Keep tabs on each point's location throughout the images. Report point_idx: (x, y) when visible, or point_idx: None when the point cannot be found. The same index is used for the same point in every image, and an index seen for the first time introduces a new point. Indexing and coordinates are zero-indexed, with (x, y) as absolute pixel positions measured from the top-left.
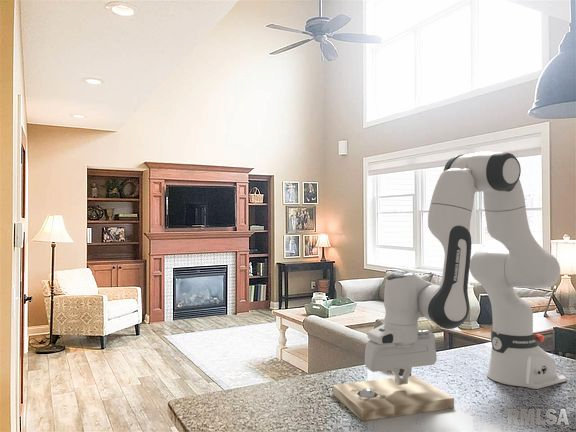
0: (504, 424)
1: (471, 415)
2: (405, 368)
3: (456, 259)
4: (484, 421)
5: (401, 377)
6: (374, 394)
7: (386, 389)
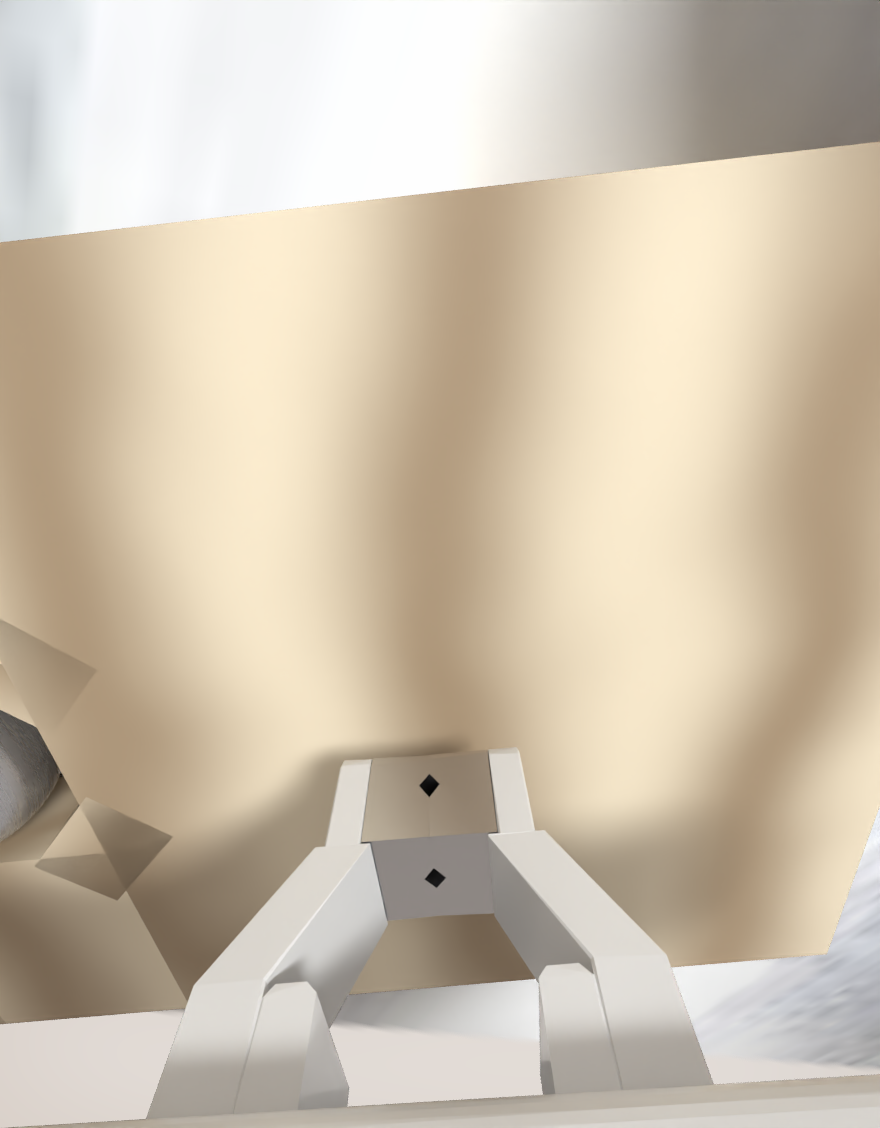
0: (849, 1045)
1: (778, 959)
2: (548, 1091)
3: None
4: (778, 1015)
5: (439, 869)
6: (21, 818)
7: (225, 694)
